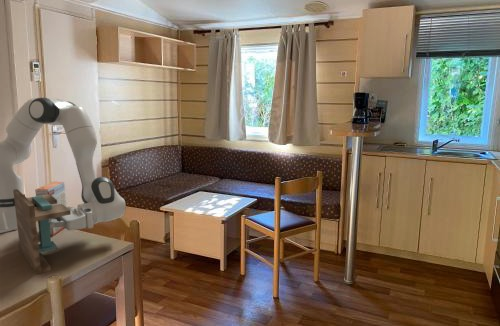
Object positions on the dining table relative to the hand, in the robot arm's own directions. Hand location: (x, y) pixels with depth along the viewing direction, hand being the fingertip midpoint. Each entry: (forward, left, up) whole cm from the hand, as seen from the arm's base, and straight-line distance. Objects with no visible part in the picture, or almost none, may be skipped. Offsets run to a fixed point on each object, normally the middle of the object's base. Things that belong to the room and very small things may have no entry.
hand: (46, 222), depth 144 cm
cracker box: (-11, +26, -13) cm, 32 cm away
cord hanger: (-1, -1, -10) cm, 10 cm away
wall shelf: (-1, -1, -13) cm, 13 cm away
